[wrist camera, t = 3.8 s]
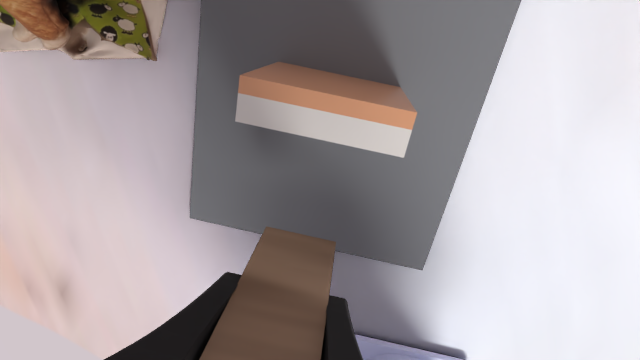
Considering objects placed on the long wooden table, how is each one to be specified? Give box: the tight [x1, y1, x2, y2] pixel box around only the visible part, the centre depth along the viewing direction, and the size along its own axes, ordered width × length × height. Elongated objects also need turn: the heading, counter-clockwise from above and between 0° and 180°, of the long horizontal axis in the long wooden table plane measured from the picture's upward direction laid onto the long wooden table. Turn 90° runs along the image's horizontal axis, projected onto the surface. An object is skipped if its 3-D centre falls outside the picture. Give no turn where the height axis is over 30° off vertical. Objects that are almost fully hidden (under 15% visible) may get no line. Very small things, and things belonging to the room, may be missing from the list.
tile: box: [235, 62, 417, 158], centre depth 15 cm, size 2×6×6 cm, turn 79°
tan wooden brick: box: [199, 226, 336, 360], centre depth 13 cm, size 3×3×7 cm
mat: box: [190, 0, 521, 270], centre depth 18 cm, size 16×14×1 cm
